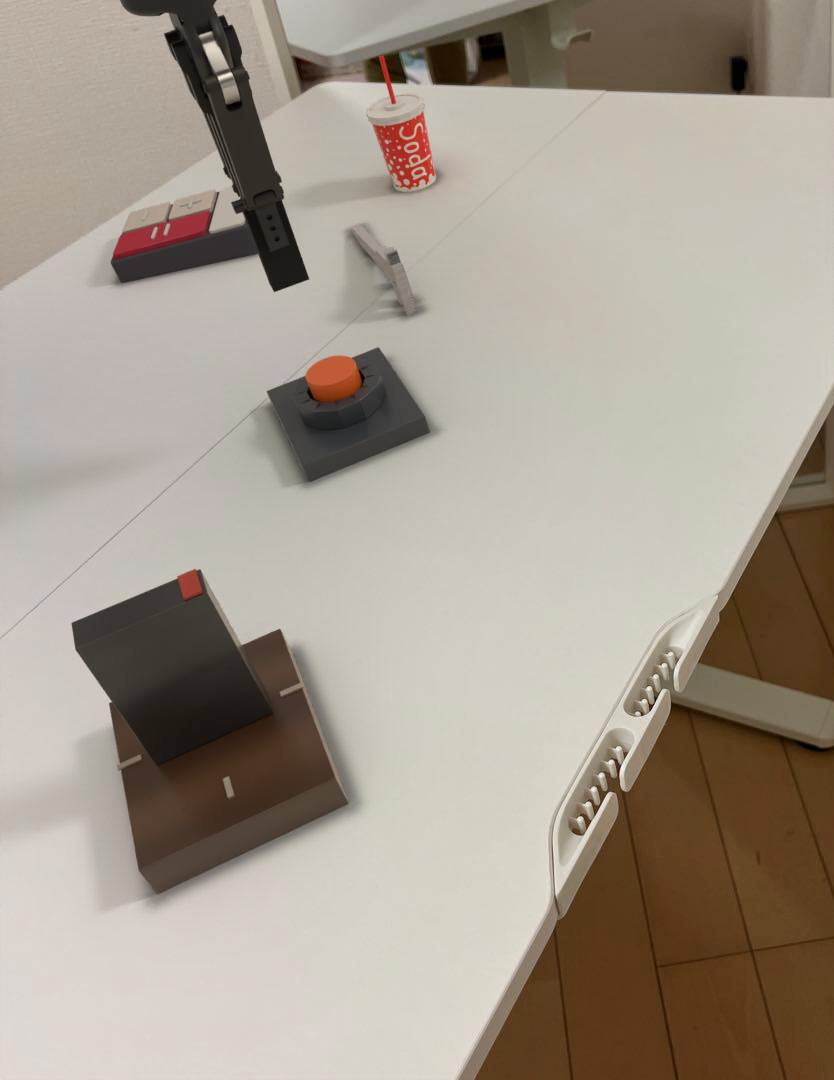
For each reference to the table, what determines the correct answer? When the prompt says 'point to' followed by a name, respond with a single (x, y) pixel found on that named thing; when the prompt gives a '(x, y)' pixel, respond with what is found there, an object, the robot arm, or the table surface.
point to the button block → (348, 418)
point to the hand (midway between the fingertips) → (289, 281)
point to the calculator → (182, 236)
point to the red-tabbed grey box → (172, 666)
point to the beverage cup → (403, 137)
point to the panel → (230, 780)
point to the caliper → (388, 267)
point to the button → (333, 378)
